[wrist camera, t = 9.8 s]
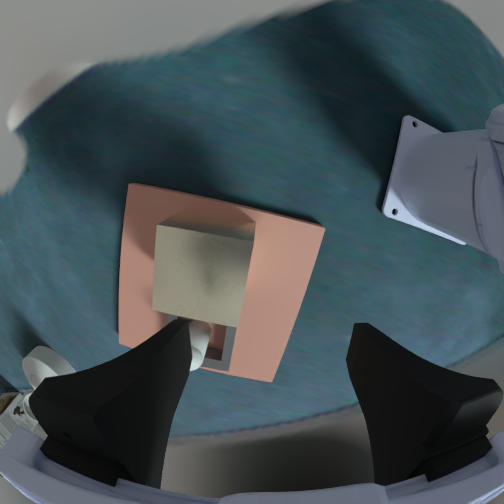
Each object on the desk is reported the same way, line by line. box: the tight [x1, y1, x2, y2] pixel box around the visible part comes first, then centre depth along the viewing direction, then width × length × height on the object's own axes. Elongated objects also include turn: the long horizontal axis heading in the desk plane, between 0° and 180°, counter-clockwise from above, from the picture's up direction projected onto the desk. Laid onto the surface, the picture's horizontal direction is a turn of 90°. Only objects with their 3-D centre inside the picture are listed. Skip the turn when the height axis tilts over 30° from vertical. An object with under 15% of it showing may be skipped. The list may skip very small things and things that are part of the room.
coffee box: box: [0, 392, 38, 477], centre depth 22 cm, size 9×6×16 cm
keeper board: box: [119, 183, 325, 382], centre depth 19 cm, size 14×14×6 cm
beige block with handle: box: [152, 210, 256, 372], centre depth 18 cm, size 12×5×5 cm, turn 170°
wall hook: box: [22, 346, 76, 422], centre depth 21 cm, size 9×10×10 cm
